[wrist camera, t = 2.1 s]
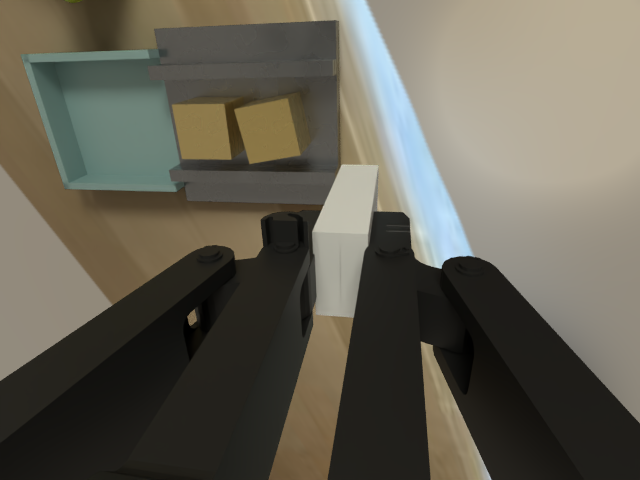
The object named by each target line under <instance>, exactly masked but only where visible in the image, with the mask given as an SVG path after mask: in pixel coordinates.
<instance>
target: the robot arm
mask: <svg viewBox="0 0 640 480" xmlns="http://www.w3.org/2000/svg"><path fill="white" fill-rule="evenodd" d="M377 197H378V165H341V168H340V170H339V172H338V174H337V177H336V179H335V181H334V183H333V186H332V188H331V190H330V192H329V195H328V197H327V199H326V201H325V204H324V206H323V208H322V211H312V210H302V211H300V212H299V213H298V212H290V211H289V212H277V213H272V214H270V215H267V216H265V217H263V218H262V219H261V229H262V238H263V248H262V250H261V251H260V253H259V254H258V256H257V257H256V258H250V259H242V260H235V256H234V252H233V251H232V250H231V249H230V248H228V247H225V246H217V245H212V246H205V247H204V248H200V249H197V250H195V251H193V252H191V253H190V254H188V255H187V256H185V257H184V258H182V259H181V260H179V261H178V262H176V263H175V264H173V265H172V266H170V267H169V268H167V269H166V270H164V271H163V272H161V273H160V274H158V275H157V276H156V277H154V278H153V279H151V280H150V281H148V282H147V283H145V284H144V285H142V286H141V287H139V288H138V289H136V290H135V291H133V292H132V293H130V294H129V295H127V296H126V297H124V298H123V299H121V300H120V301H118V302H117V303H115V304H114V305H112V306H111V307H110V308H108V309H107V310H105V311H104V312H102V313H101V314H99V315H98V316H96V317H95V318H93V319H92V320H90V321H89V322H87V323H86V324H85V325H83V326H81V327H80V328H78V329H77V330H75V331H74V332H72V333H71V334H69V335H68V336H66V337H65V338H63V339H62V340H61V341H59V342H58V343H56V344H55V345H53V346H52V347H50V348H49V349H47V350H46V351H44V352H43V353H41V354H40V355H38V356H37V357H35V358H34V359H32V360H31V361H30V362H28V363H26V364H25V365H23V366H22V367H20V368H19V369H17V370H16V371H15V372H13V373H12V374H10V375H9V376H7V377H6V378H4V379H3V380H1V381H0V480H268V479H269V475H270V472H271V468H272V465H273V462H274V458H275V455H276V451H277V448H278V444H279V441H280V437H281V434H282V431H283V427H284V424H285V420H286V417H287V413H288V410H289V406H290V403H291V399H292V396H293V393H294V389H295V386H296V382H297V379H298V375H299V372H300V368H301V365H302V362H303V358H304V355H305V351H306V348H307V344H308V341H309V337H310V334H311V330H312V327H313V311H312V310H313V307H314V304H316V315H327V316H340V317H353V318H354V319H353V326H352V332H351V338H350V344H349V350H348V357H347V363H346V369H345V375H344V381H343V388H342V394H341V400H340V406H339V412H338V419H337V425H336V431H335V437H334V443H333V450H332V456H331V462H330V468H329V474H328V480H430V466H429V452H428V438H427V424H426V410H425V396H424V382H423V369H422V355H421V342H424V343H428V344H431V345H433V352H434V356H435V358H436V360H437V362H438V364H439V367H440V369H441V371H442V373H443V375H444V377H445V379H446V382H447V384H448V386H449V388H450V390H451V392H452V395H453V397H454V399H455V401H456V403H457V405H458V408H459V410H460V412H461V414H462V416H463V418H464V421H465V423H466V425H467V427H468V429H469V431H470V433H471V436H472V438H473V440H474V442H475V444H476V446H477V449H478V451H479V453H480V455H481V457H482V459H483V462H484V464H485V466H486V468H487V470H488V472H489V475H490V477H491V479H492V480H640V423H639V422H638V421H637V420H636V419H635V418H634V417H633V416H632V415H631V413H629V411H628V410H627V409H626V408H625V407H624V406H623V405H622V404H621V403H620V401H618V399H617V398H616V397H615V396H614V395H613V394H612V393H611V392H610V391H609V390H608V388H607V387H606V386H605V385H604V384H603V383H602V382H601V381H600V380H599V379H598V378H597V377H596V375H595V374H594V373H593V372H592V371H591V370H590V369H589V368H588V367H587V366H586V365H585V363H583V361H582V360H581V359H580V358H579V357H578V356H577V355H576V354H575V353H574V352H573V350H572V349H571V348H570V347H569V346H568V345H567V344H566V343H565V342H564V341H563V339H562V338H561V337H560V336H559V335H558V334H557V333H556V332H555V331H554V330H553V329H552V328H551V326H550V325H549V324H548V323H547V322H546V321H545V320H544V319H543V318H542V317H541V316H540V314H539V313H538V312H537V311H536V310H535V309H534V308H533V307H532V306H531V305H530V304H529V302H528V301H527V300H526V299H525V298H524V297H523V296H522V295H521V294H520V293H519V292H518V291H517V290H516V288H515V287H514V286H513V285H512V284H511V283H510V282H509V281H508V280H507V279H506V278H505V276H504V275H503V274H502V273H501V272H500V271H499V270H498V269H497V268H496V267H495V266H494V265H492V264H491V263H490V262H487V261H485V260H482V259H480V258H477V257H475V258H474V257H472V256H466V257H462V256H460V257H454V258H450V259H448V260H446V261H445V262H444V263H443V265H442V269H439V268H435V267H431V266H428V265H425V264H423V263H421V262H419V261H418V260H416V259H415V257H414V252H413V250H412V249H411V235H410V220H409V218H408V217H407V216H406V215H405V214H404V213H403V212H377ZM194 309H195V313H196V318H197V321H196V322H195V323H194V324H193V325H191V326H190V325H189V323H188V318H187V316H188V315H189V314H190V312H192V311H193V310H194Z"/></svg>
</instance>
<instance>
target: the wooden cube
mask: <svg viewBox="0 0 640 480" xmlns="http://www.w3.org/2000/svg"><path fill="white" fill-rule="evenodd" d="M234 111H235V114H236V118H237V121H238V125H239V128H240V132H241V135H242V139H243V142H244V146H245V149H246V153H247V156H248V160H249V163H250V164H253V163H258V162H264V161H270V160H276V159H282V158H288V157H293V156H299V155H301V154H302V153H303V152H304V151H305V149H306V148H307V147H308V146H309V144H310V143H311V140H310V136H309V131H308V126H307V122H306V117H305V113H304V108H303V103H302V99H301V94H300V91H298V92H294V93H289V94H284V95H279V96H275V97H270V98H265V99H261V100H256V101H252V102H249V103H247V104H245V105H243V106H240V107H238V108H236V109H234Z"/></svg>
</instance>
